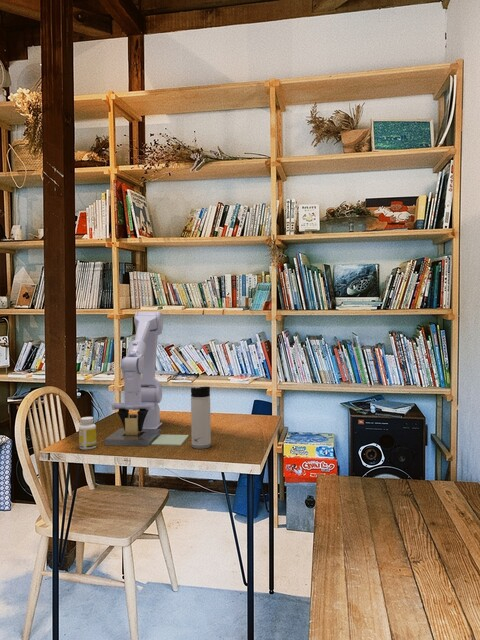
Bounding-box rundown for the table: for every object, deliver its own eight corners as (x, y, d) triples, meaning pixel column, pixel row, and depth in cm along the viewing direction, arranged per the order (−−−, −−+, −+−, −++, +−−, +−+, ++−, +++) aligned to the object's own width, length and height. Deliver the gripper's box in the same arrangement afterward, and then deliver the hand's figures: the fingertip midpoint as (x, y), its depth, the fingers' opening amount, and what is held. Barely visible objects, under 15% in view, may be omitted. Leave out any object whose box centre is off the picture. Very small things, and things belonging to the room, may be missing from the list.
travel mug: (196, 450, 163) (195, 387, 162) (188, 445, 169) (187, 385, 168) (214, 447, 166) (213, 386, 165) (206, 442, 172) (205, 383, 171)
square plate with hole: (120, 433, 185) (120, 428, 185) (160, 434, 183) (160, 429, 183) (104, 445, 170) (104, 439, 170) (148, 446, 168) (148, 440, 168)
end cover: (129, 438, 179) (129, 413, 179) (141, 438, 179) (141, 413, 178) (125, 441, 175) (124, 416, 175) (137, 441, 174) (137, 416, 174)
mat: (160, 435, 182) (160, 434, 182) (188, 436, 181) (188, 435, 181) (151, 445, 170) (151, 443, 170) (180, 445, 169) (180, 444, 169)
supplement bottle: (99, 445, 170) (98, 416, 170) (92, 450, 165) (92, 419, 164) (83, 445, 171) (82, 416, 170) (76, 449, 165) (75, 419, 165)
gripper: (108, 393, 173) (108, 433, 174) (149, 393, 171) (150, 433, 172) (115, 389, 180) (116, 427, 181) (155, 389, 178) (156, 428, 179)
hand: (133, 430), depth 177 cm, fingers closed on end cover, 4 cm apart
